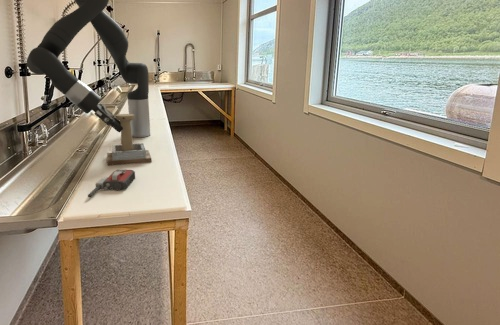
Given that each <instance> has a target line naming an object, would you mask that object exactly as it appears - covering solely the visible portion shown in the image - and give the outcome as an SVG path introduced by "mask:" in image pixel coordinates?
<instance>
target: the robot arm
mask: <svg viewBox="0 0 500 325" xmlns="http://www.w3.org/2000/svg"><path fill="white" fill-rule="evenodd" d="M109 1H110V0H74V2H75V4H76V5H77V6H78V8H76V9H75V10H73V11H72V12H70V13H69V14H66V15H64V16H63V17H61V18H60V19H58V20H57V21H55V22H54V23H53V24H52V26H51V27H50V28H49V29H48V30H47V32H46V33H45V34H44V36H43V38H42V40H41V42H40V43H39V44H38V45H37V46H36V47H34V48H32V50H31V51H30V52H29V54H28V56H27V58H26V66H27V68H28V70H29V71H30V72H31V73H33V74H35V75H45V76H46V77H47V78H48V79H49V80H50V81H51V82H50V83H51V85H52V86H53V87H54V88H55V89H57V90H58V91H59V92H60V93H61V94H63V95H64V96H65V97H66V98H67V99H68V100H69V101H70V102H71V103H72V104H74V105H75V106H77V107H78V109H79V110H81V111H82V112H84V113H85V114H89V113H91V111H93V113H94V116H96V118H98V119H100V121H102V122H103V123H105V125H107V126H110V127H112V128H113V129H114V130H115V131H117V133H121V131H122V130H123V127H122V126H121V122H120V121H119V120H117V119H116V115H115V114H113V112H112V111H110V110H109V109H108V107H106V106H105V105H103V104H102V103H100V102H101V100H102V97H101V96H100V95H99V94H98V93H96V92H95V91H94V90H93V89H92V88H91V87H89V85H88V84H86V83H84V82H83V81H82V80H80V79H79V78H78V77H76V75H74V74H73V73H72V72H71V71H69V70H68V69H67V68H66V66H65V65H64V64H63V63H62V62H61V60H60V59H59V56H60V55H61V54H62V53H63V52H64V51H65V50H66V49H67V47H68V46H69V45H70V44H71V43H72V41H73V40H74V38H75V37H76V36H77V35H78V34H79V32H80V31H82V30H83V29H84V28H85V27H86V26H87V25H88V24H89V23H91V25H92V27H93V29H94V30H95V32H96V33H97V34H98V36H99V38H100V40H101V42H102V43H103V45H104V46H105V48H106V49H107V51H108V52H109V54H110V57H111V58H112V59H113V62H114V63H115V65H116V67H117V69H118V72H119V73H120V75H121V78H122V79H123V81H124V82H125V83H126V84H133V85H135V84H137V87H136V89H134V90H131V91H128V92H127V105H128V114H134V119H133V120H131V122H130V124H131V132H132V138H133V137H134V138H144V137H145V138H146V137H149V136H151V120H150V119H151V118H150V106H149V90H150V89H149V82H150V80H149V79H150V78H149V68H148V66H147V65H146V64H145V63H143V62H141V63H140V62H130V61H129V60H128V59H127V53H128V48H129V40H128V38H127V36H126V34H125V32H124V30H123V28H122V27H121V26H120V25H119V23H117V21H115V19H113V18H112V17H111V16H110V15H109V14H107V13H106V12H105V11H104V10H105V8H106V7H107V6H108V4H109V3H110V2H109Z"/></svg>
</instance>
